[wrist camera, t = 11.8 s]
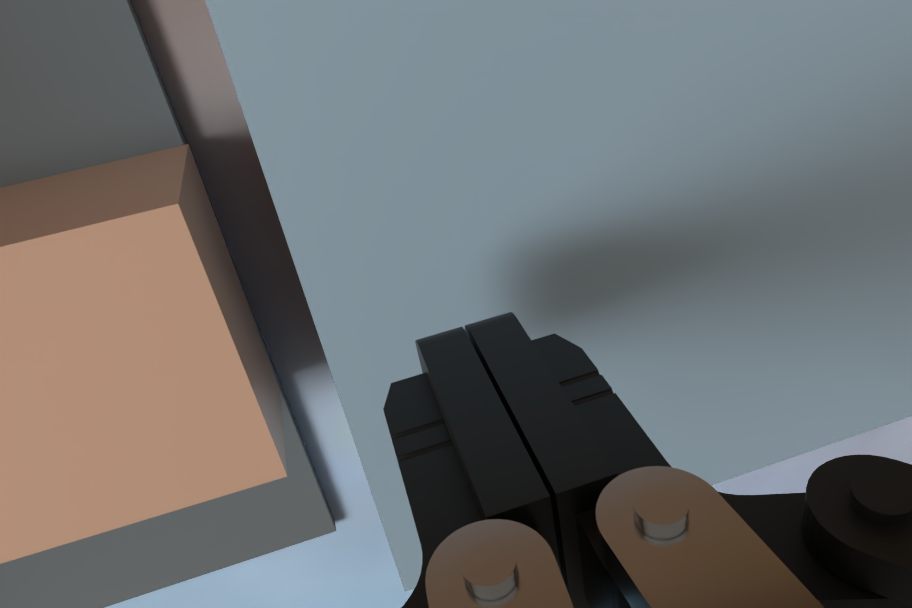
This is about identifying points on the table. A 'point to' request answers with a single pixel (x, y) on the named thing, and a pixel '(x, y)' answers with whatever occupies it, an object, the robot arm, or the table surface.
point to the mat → (156, 128)
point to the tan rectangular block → (124, 355)
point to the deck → (599, 204)
